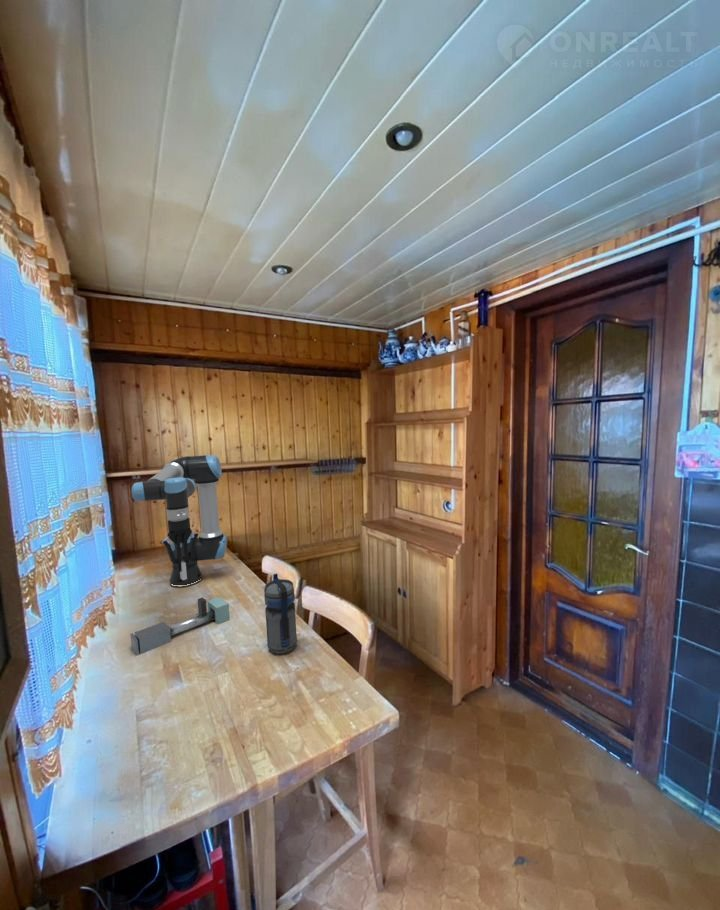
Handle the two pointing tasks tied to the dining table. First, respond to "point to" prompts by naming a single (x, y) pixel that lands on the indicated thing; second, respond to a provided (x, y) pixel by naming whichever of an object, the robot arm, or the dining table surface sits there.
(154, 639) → the outer sleeve
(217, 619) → the pale blue rectangular block
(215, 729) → the dining table surface
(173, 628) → the block with metal shaft
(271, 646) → the beverage bottle
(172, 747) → the dining table surface
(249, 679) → the dining table surface
